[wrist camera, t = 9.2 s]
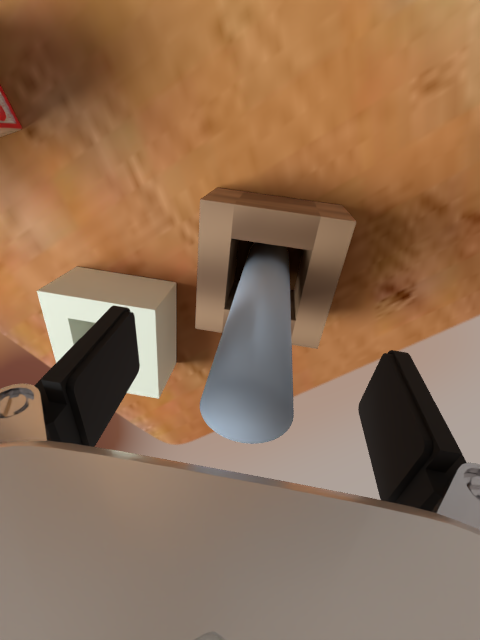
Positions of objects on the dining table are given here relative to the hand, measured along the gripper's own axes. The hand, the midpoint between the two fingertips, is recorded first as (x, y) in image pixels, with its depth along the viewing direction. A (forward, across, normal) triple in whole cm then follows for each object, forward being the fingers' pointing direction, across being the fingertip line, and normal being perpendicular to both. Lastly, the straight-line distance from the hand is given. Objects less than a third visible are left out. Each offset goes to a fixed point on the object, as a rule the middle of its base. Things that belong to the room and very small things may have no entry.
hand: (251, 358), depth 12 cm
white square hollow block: (+14, +12, +9) cm, 20 cm away
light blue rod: (+14, 0, +1) cm, 14 cm away
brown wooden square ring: (+14, 0, +1) cm, 14 cm away
